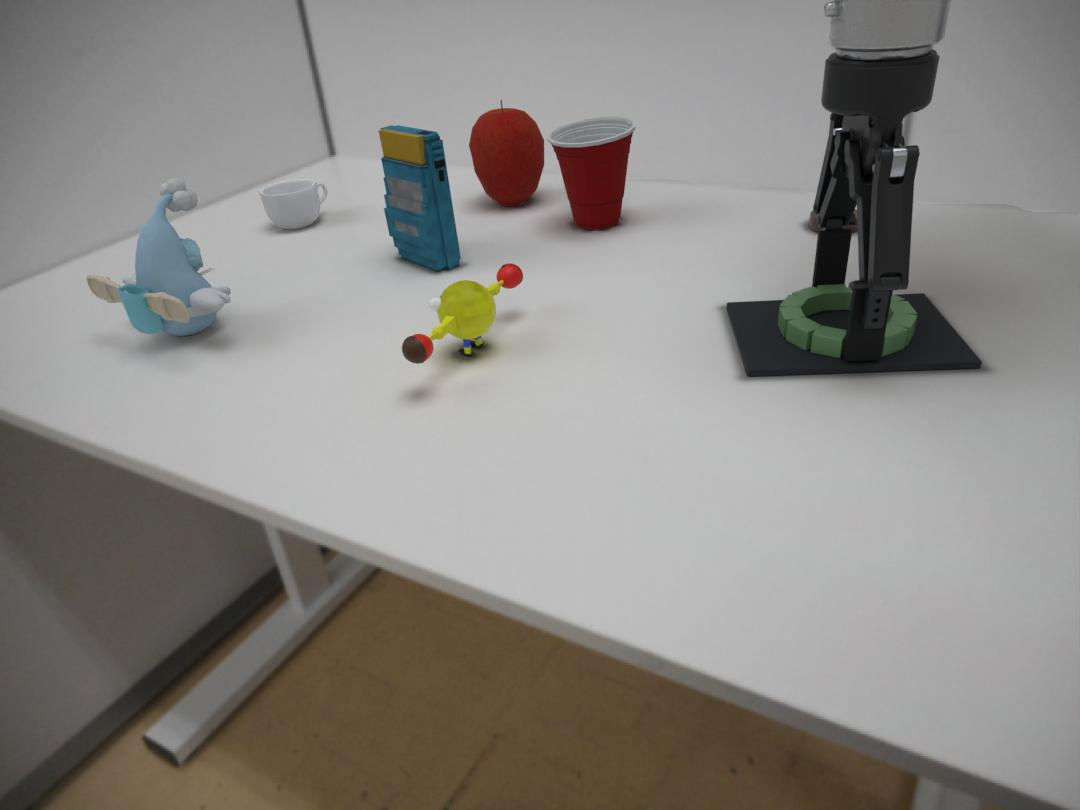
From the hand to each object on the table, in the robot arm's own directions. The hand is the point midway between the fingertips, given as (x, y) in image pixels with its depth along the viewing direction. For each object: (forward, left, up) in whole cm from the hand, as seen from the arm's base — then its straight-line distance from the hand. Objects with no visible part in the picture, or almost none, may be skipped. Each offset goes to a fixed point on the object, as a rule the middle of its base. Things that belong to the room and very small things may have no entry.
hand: (842, 326), depth 65 cm
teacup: (+64, -41, -1) cm, 76 cm away
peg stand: (-6, -27, -1) cm, 28 cm away
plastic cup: (+22, -33, -1) cm, 40 cm away
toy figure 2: (+33, 0, -1) cm, 33 cm away
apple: (+34, -44, -1) cm, 56 cm away
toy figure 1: (+64, -7, -1) cm, 64 cm away
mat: (0, 0, -1) cm, 1 cm away
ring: (0, 0, 0) cm, 0 cm away
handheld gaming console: (+42, -23, -1) cm, 48 cm away
